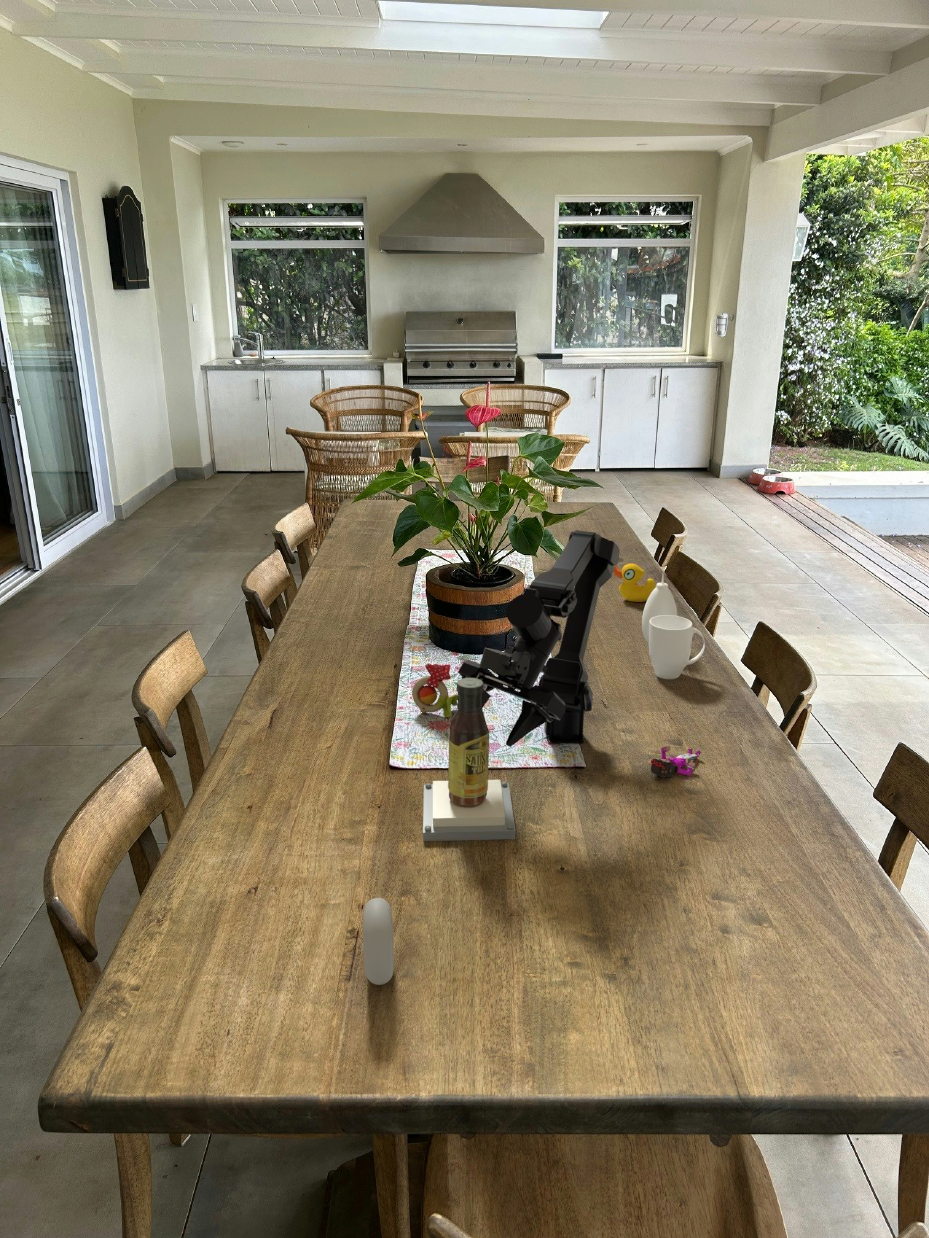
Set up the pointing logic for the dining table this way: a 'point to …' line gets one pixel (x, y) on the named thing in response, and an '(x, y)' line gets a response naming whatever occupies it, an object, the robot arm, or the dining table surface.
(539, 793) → the dining table surface
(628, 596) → the duckling
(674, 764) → the character figurine
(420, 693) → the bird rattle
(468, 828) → the tower base
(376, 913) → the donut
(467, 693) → the sauce bottle
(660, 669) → the mug
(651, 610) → the sauce bottle
